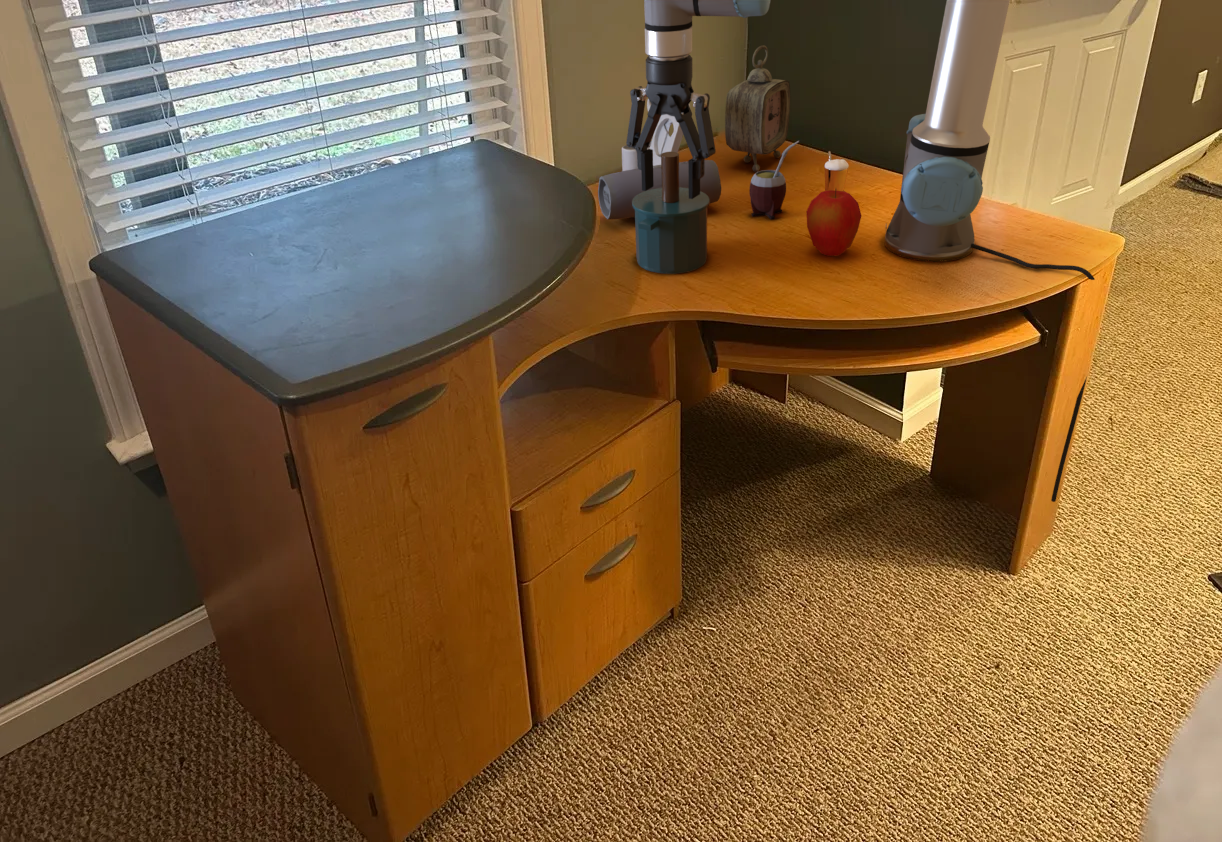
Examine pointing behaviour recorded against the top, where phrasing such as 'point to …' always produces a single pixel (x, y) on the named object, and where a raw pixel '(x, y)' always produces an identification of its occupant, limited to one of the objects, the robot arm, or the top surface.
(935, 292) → the top surface
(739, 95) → the tabletop clock
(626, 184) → the bluetooth speaker
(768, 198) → the mate gourd
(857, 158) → the top surface
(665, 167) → the lid
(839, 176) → the milkshake
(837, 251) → the apple
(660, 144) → the phone holder
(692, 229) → the pot
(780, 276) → the top surface
